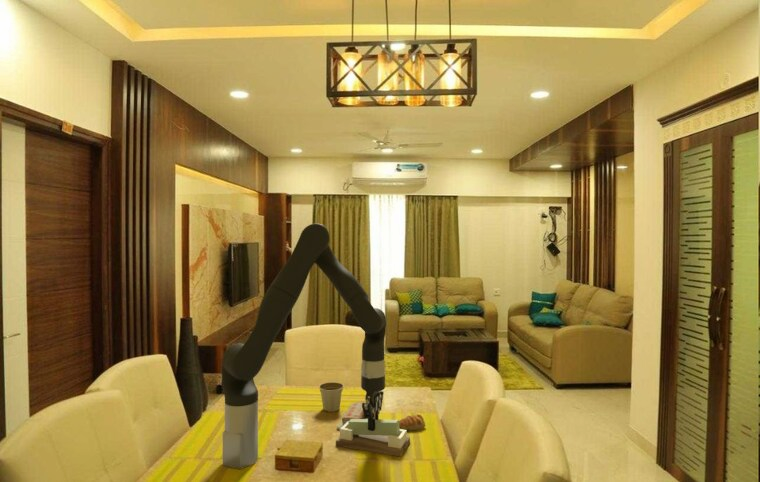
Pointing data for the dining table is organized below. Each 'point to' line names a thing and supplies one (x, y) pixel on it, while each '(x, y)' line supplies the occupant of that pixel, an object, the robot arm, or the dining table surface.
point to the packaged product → (352, 413)
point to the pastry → (412, 423)
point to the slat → (380, 427)
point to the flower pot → (331, 395)
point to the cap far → (346, 432)
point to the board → (372, 444)
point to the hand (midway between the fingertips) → (373, 428)
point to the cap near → (397, 439)
